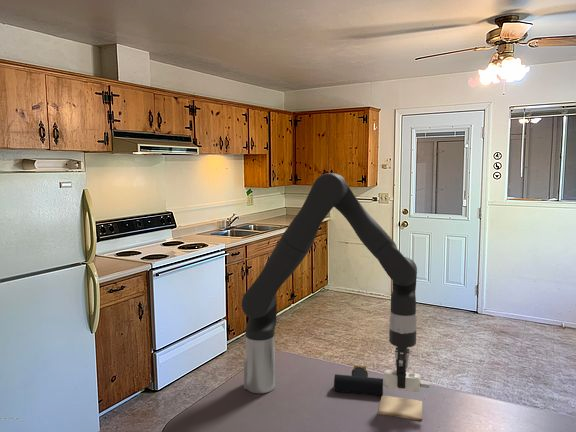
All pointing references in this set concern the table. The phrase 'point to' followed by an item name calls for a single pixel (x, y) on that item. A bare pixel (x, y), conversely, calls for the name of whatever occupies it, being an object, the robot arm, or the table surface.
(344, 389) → the pipe connector
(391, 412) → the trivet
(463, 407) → the table surface
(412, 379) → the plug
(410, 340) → the robot arm
